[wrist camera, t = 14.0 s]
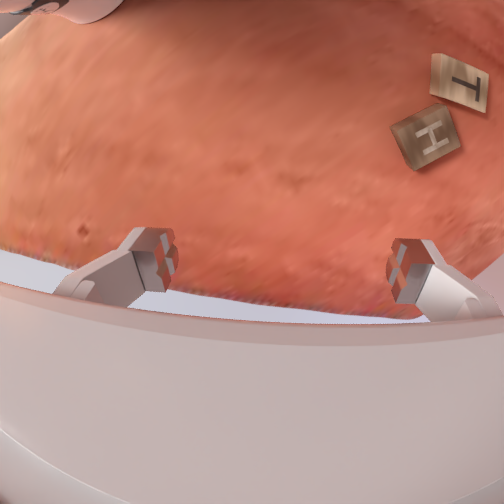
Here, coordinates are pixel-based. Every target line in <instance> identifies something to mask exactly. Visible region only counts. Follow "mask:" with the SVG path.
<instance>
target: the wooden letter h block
mask: <svg viewBox="0 0 504 504" xmlns="http://www.w3.org/2000/svg"><path fill="white" fill-rule="evenodd" d="M390 129H391V131H392V133H393V135H394V137H395V140H396V142H397V144H398V146H399V148H400V150H401V152H402V155H403V157H404V159H405V162H406V164H407V165H408V166H409V167H410V168H411V169H412V170H413V171H416V170H417V169H419V168H421V167H423V166H425V165H427V164H429V163H431V162H432V161H434V160H436V159H438V158H440V157H442V156H444V155H445V154H447V153H449V152H451V151H453V150H455V149H457V148H458V147H460V146H461V144H460V141H459V138H458V135H457V132H456V130H455V127H454V124H453V121H452V119H451V116H450V113H449V111H448V108H447V106H445V105H442V104H439V103H436V104H434V105H432V106H430V107H428V108H426V109H424V110H422V111H420V112H418V113H416V114H414V115H412V116H410V117H408V118H406V119H404V120H402V121H400V122H398V123H396V124H394V125H392V126H390Z"/></svg>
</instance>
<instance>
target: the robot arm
mask: <svg viewBox="0 0 504 504" xmlns="http://www.w3.org/2000/svg"><path fill="white" fill-rule="evenodd" d="M122 1H123V0H0V13H5V12H9V13H10V14H13V15H42V14H54V15H58V16H62V17H64V18H67V19H69V20H70V21H72V22H74V23H78V24H86V23H91V22H94V21H97V20H99V19H101V18H103V17H104V16H106V15H107V14H109V13H110V12H112V11H113V10H114V9H115V8H116V7H118V6H119V5H120V4H121V3H122ZM174 240H175V235H174V231H173V230H172V229H171V228H155V227H135V228H134V229H133V230H132V231H131V232H130V234H129V235H128V236H127V237H126V239H125V240H124V241H123V242H122V244H121V245H120V246H119V247H118V249H117V250H112V251H110V252H109V253H107V254H105V255H103V256H101V257H99V258H97V259H96V260H94V261H92V262H90V263H88V264H87V265H85V266H83V267H81V268H79V269H78V270H76V271H74V272H72V273H71V274H69V275H67V276H66V277H65V278H64V279H63V280H62V282H61V283H60V284H59V286H58V287H57V288H56V290H55V291H54V292H53V294H49V293H44V292H40V291H36V290H31V289H27V288H23V287H19V286H14V285H10V284H6V283H3V282H0V504H504V316H503V314H502V312H501V310H500V308H499V306H498V304H497V303H496V301H495V299H494V297H493V296H491V295H490V294H489V293H488V292H486V291H485V290H483V289H482V288H481V287H480V286H478V285H477V284H476V283H474V282H473V281H472V280H470V279H469V278H468V277H466V276H465V275H464V274H462V273H461V272H459V271H458V270H456V269H455V268H454V267H452V266H451V265H447V264H446V262H445V261H444V259H443V257H442V256H441V254H440V253H439V251H438V249H437V248H436V246H435V245H434V243H433V242H432V241H431V240H429V239H402V238H395V240H394V241H393V244H392V247H391V248H392V251H393V254H392V255H391V256H390V257H389V258H388V261H387V264H386V276H387V280H388V282H389V283H390V284H391V285H392V286H393V287H392V290H391V291H392V294H393V297H394V300H395V303H403V304H415V305H416V306H417V307H418V308H419V309H420V310H421V312H422V313H423V314H424V315H425V316H426V317H427V318H428V319H429V320H430V321H431V322H425V323H402V324H304V323H280V322H260V321H246V320H233V319H221V318H210V317H199V316H189V315H181V314H172V313H164V312H156V311H148V310H141V309H134V308H127V307H128V306H129V305H130V304H131V303H132V302H133V301H135V300H136V299H137V298H139V297H140V296H141V295H142V294H143V293H144V292H145V291H153V292H166V290H167V288H168V286H169V284H170V282H171V277H170V275H172V274H173V273H175V271H176V269H177V267H178V261H179V257H178V250H177V247H176V246H175V245H174V244H173V241H174Z"/></svg>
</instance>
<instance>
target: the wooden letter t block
mask: <svg viewBox="0 0 504 504" xmlns="http://www.w3.org/2000/svg"><path fill="white" fill-rule="evenodd" d="M488 78H489V74H487V73H485V72H483V71H481V70H479V69H477V68H475V67H473V66H470V65H468V64H466V63H464V62H462V61H459V60H457V59H454V58H452V57H450V56H447V55H444V54H442V53H434V54H432V62H431V80H430V92H429V94H432V95H435V96H438V97H441V98H444V99H447V100H450V101H453V102H456V103H459V104H461V105H464V106H467V107H469V108H472V109H474V110H477V111H480V112H483V113H485V111H486V103H487V92H488Z"/></svg>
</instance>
